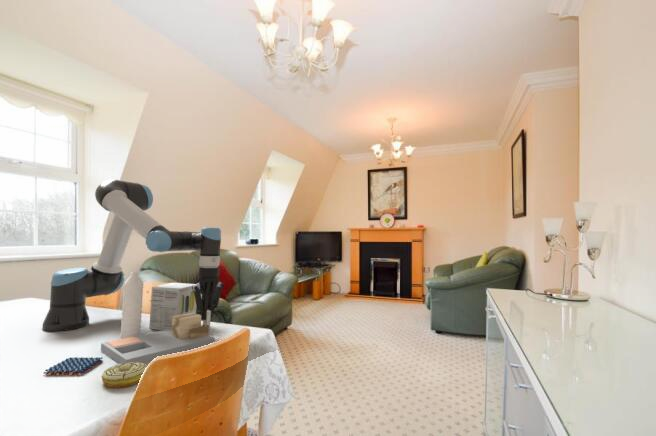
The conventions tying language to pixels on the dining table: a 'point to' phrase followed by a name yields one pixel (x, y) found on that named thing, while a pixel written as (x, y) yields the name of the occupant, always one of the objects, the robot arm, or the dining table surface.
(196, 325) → the block
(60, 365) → the woven mat
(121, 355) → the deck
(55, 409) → the dining table surface
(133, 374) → the decorated donut
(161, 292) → the supplement box
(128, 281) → the water bottle
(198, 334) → the walls
